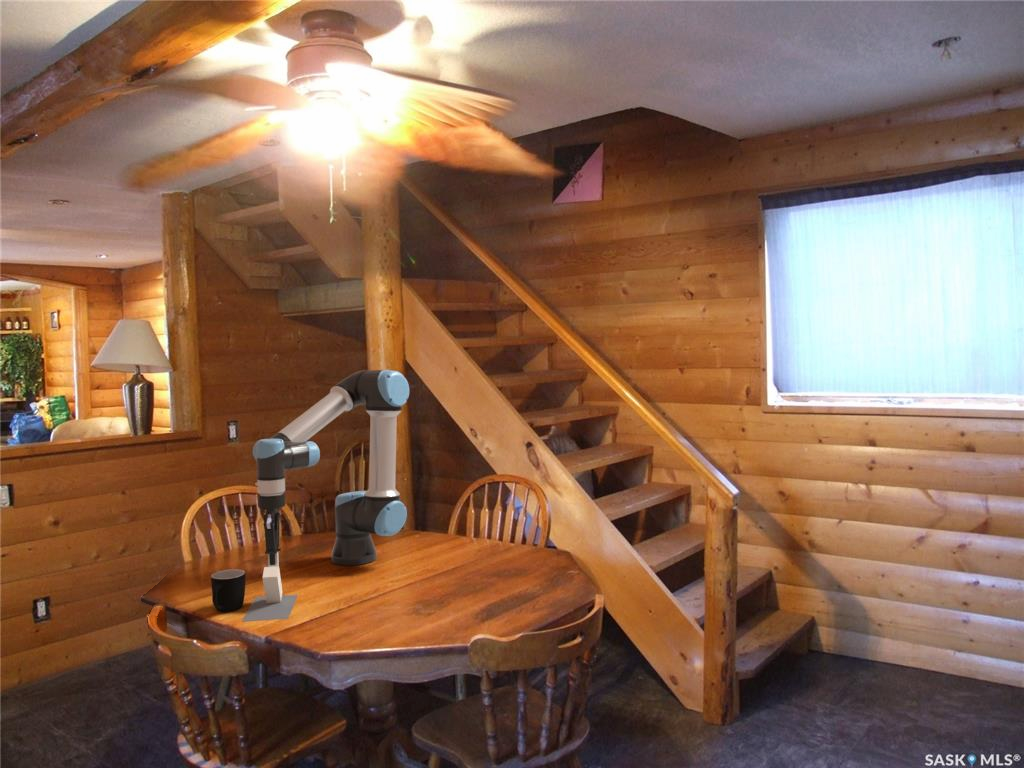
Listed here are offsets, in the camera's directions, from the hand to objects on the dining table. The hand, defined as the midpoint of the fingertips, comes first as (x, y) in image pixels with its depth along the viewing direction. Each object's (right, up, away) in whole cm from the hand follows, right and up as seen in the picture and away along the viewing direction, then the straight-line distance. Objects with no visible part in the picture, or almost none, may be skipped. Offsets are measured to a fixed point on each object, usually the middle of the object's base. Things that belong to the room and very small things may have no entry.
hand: (273, 575), depth 222 cm
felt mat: (+1, -8, -6) cm, 10 cm away
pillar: (0, -6, 0) cm, 6 cm away
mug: (-11, -8, -8) cm, 16 cm away
